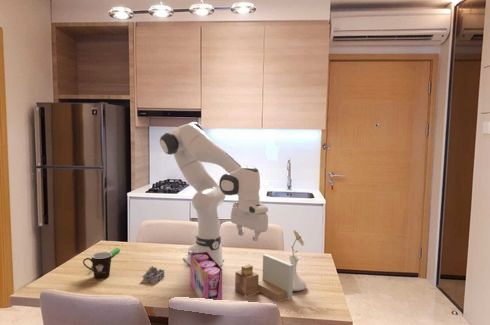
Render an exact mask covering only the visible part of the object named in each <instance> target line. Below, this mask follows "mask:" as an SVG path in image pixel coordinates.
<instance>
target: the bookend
mask: <svg viewBox="0 0 490 325" xmlns="http://www.w3.org/2000/svg"><path fill="white" fill-rule="evenodd" d="M292 289H293V264H291V262H287V261H285V260H283V259H280V258H278V257H276V256H272V255H270V254H269V253H268V254H267V253H265V254H263V255H262V278H261V280H260V281H259V280H258V293H261V294H263V295H264V296H267V297H269V298H271V299H272V300H274V301H276V302H277V303H278V302H281V301H284V300H290V299H292V298H293V291H292Z"/></svg>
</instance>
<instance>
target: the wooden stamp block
mask: <svg viewBox="0 0 490 325" xmlns="http://www.w3.org/2000/svg"><path fill="white" fill-rule="evenodd" d="M253 270H254V266H253V265H251V264H245V265H242V266H241V269H240V270H237V271H235V273H234V274H235V275H234V276H235V277H234V278H235V279H234V281H235V282H234V283H235V284H234V290H235V291H237V292H238V293H240V294H241V295H243V294H244V296H245V295H246V296H245V297H249V296H252V295H255V294H258V293H259V291H258V282H259V278H260V277H259V275H260V274H259V273H257V272H255V271H253Z"/></svg>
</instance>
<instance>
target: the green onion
mask: <svg viewBox="0 0 490 325" xmlns="http://www.w3.org/2000/svg"><path fill="white" fill-rule="evenodd" d="M108 252H109V253H111V254H112V257H114V256H115V255H117V254H118V253H119V252H121V249H120V248H118V247H116V248H114V249H113V250H111V251H108ZM90 268H91V269H93V265H91V266H90Z"/></svg>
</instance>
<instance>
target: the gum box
mask: <svg viewBox="0 0 490 325" xmlns="http://www.w3.org/2000/svg"><path fill="white" fill-rule="evenodd" d="M190 285H191V287H192V288H193V290H194V292H195V293H196V296H197V297H198V299H199V298H205V299H213V300H222V301H223V269H222V266H219V265H218V264H217V263H216V262H215V261H214V259H213V258H212V257H211V256H210V255H209V254H208V252H201V253H191V266H190Z"/></svg>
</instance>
